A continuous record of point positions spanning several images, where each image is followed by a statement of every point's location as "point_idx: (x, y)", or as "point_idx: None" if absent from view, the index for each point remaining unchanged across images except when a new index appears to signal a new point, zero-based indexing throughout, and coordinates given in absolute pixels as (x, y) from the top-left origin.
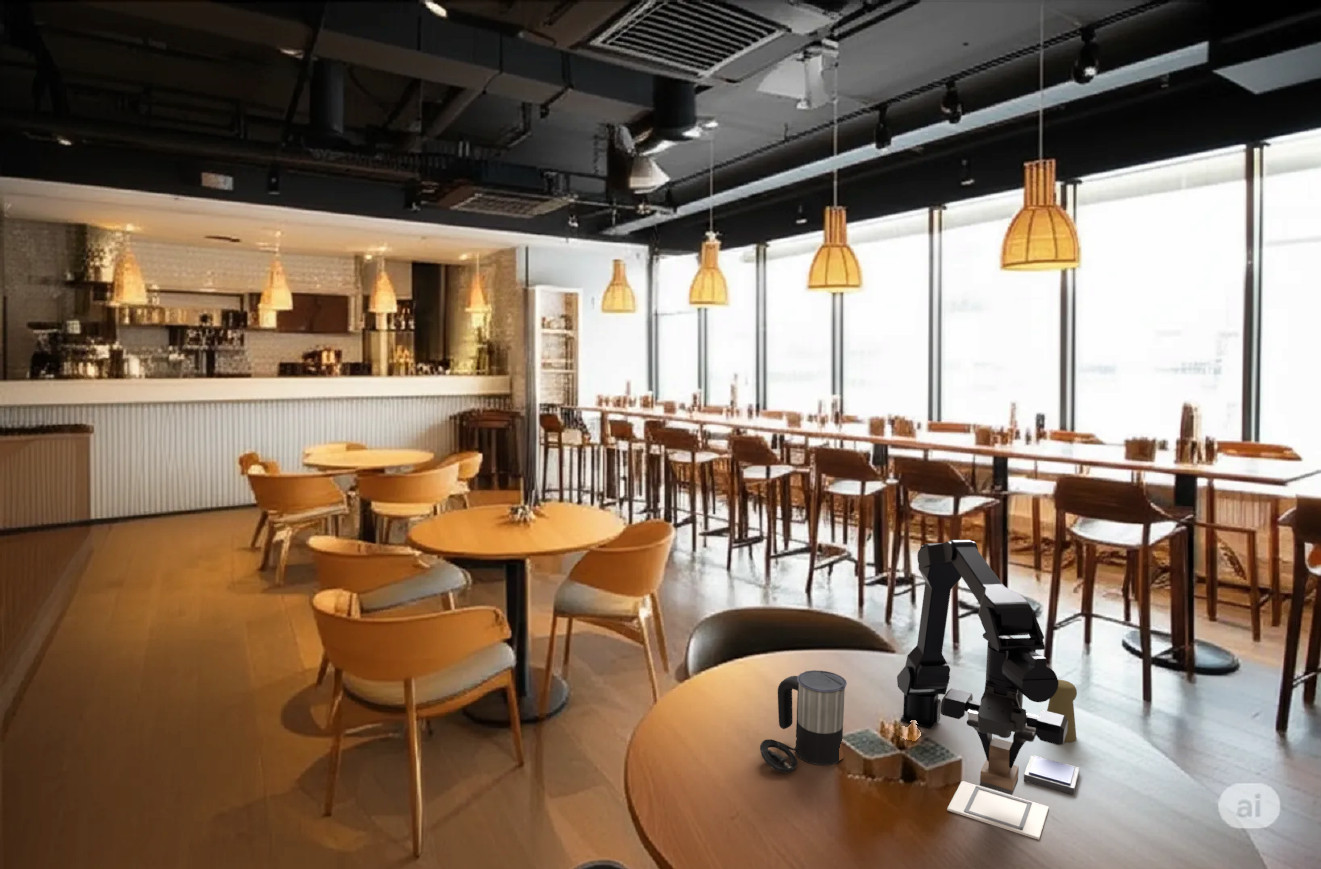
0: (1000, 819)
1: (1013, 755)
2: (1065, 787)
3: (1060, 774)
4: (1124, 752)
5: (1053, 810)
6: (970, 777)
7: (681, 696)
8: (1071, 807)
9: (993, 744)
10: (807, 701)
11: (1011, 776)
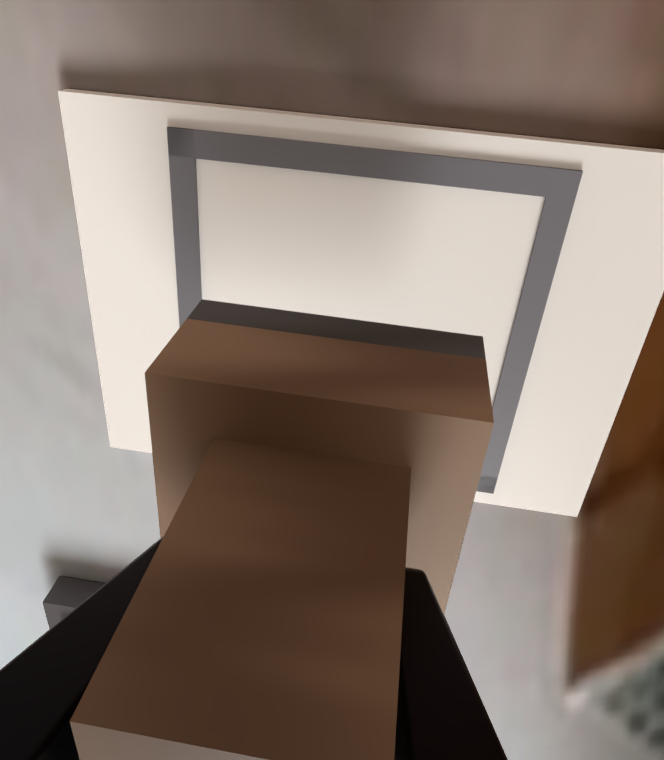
0: (321, 195)
1: (68, 651)
2: (82, 601)
3: None
4: None
5: (93, 434)
6: (522, 565)
7: None
8: (35, 486)
9: None
10: None
11: (177, 433)
